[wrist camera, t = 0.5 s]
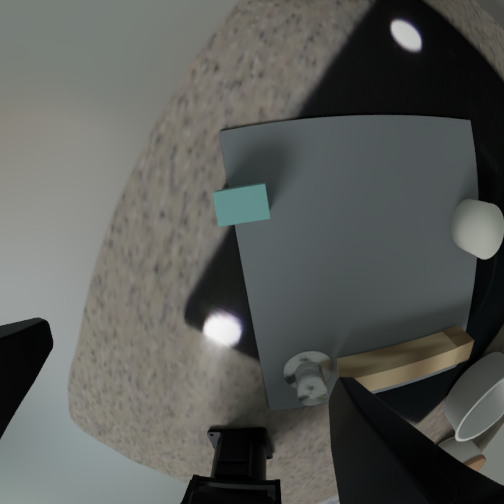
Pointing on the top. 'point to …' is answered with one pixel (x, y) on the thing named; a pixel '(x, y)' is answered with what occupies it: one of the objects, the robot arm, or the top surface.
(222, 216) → the teal rectangular block
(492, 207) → the door stop
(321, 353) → the hinge pin
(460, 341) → the wooden block
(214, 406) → the top surface
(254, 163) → the mat
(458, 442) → the lidded jar
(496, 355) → the saucepan
